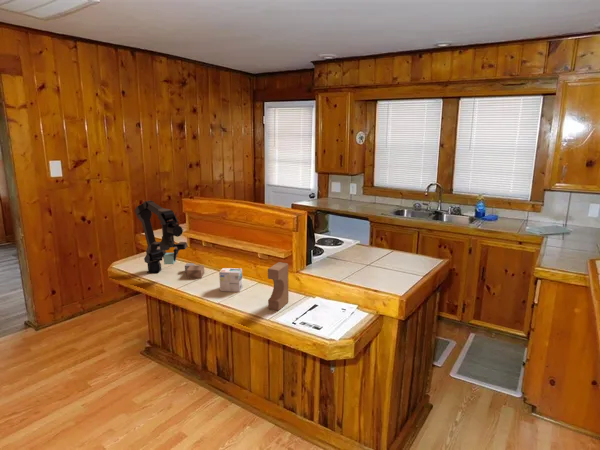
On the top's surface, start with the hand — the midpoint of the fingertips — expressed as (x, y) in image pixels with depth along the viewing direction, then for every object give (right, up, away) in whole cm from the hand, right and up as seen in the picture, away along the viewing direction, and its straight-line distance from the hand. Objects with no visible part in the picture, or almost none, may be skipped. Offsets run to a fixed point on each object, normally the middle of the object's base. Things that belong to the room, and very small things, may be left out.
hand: (170, 260), depth 221 cm
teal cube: (0, -1, 0) cm, 1 cm away
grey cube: (+7, -8, +14) cm, 18 cm away
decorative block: (+61, -19, -29) cm, 71 cm away
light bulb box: (+36, -14, -10) cm, 40 cm away
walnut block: (+12, -10, +8) cm, 17 cm away
